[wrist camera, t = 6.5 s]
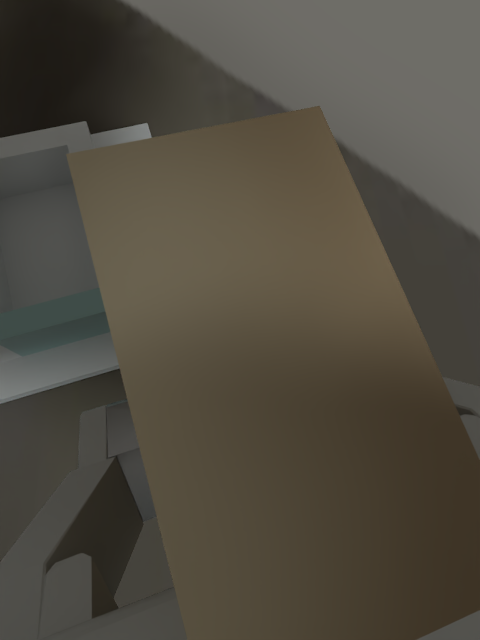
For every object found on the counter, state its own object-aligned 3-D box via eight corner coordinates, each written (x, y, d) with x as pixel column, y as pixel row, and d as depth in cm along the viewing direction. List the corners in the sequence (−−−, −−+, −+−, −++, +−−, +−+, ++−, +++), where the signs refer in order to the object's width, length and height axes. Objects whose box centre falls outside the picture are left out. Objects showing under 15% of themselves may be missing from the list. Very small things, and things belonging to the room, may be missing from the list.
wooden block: (202, 536, 14) (237, 836, 3) (156, 368, 16) (65, 153, 5) (285, 505, 15) (571, 662, 4) (233, 346, 17) (320, 105, 5)
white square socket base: (-60, 421, 21) (-115, 415, 17) (-92, 182, 24) (-144, 135, 21) (215, 339, 23) (217, 319, 20) (148, 132, 27) (140, 82, 23)
